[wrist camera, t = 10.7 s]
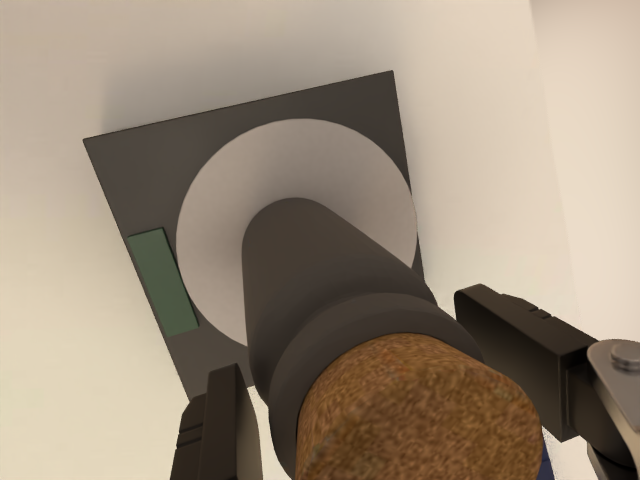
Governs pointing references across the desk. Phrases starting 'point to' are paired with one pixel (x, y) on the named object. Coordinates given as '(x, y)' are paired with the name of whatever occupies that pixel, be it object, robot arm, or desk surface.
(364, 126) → the scale
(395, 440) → the bottle
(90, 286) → the desk surface
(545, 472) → the papers
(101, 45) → the desk surface
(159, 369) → the desk surface
